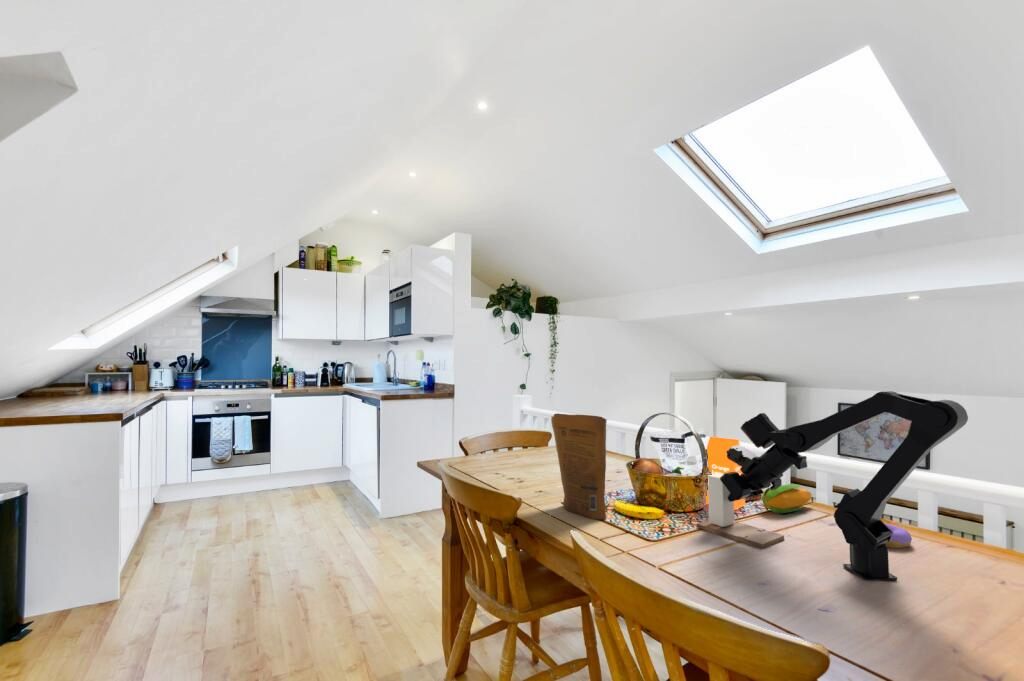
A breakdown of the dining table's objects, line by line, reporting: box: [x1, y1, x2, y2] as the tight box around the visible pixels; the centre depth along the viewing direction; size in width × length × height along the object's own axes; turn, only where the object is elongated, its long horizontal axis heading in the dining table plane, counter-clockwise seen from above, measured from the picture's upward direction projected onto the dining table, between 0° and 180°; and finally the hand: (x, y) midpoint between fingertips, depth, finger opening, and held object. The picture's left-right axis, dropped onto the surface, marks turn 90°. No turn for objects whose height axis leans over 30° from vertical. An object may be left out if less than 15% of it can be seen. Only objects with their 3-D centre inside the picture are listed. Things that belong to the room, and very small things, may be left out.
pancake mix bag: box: [550, 413, 608, 520], centre depth 135 cm, size 7×19×28 cm, turn 39°
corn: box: [761, 483, 813, 515], centre depth 138 cm, size 7×8×20 cm
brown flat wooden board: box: [696, 519, 785, 550], centre depth 118 cm, size 17×10×1 cm, turn 34°
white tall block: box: [708, 473, 735, 527], centre depth 123 cm, size 4×5×12 cm
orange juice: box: [706, 436, 746, 510], centre depth 142 cm, size 8×9×20 cm
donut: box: [884, 523, 913, 549], centre depth 113 cm, size 10×9×5 cm
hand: (729, 499), depth 121 cm, fingers closed
